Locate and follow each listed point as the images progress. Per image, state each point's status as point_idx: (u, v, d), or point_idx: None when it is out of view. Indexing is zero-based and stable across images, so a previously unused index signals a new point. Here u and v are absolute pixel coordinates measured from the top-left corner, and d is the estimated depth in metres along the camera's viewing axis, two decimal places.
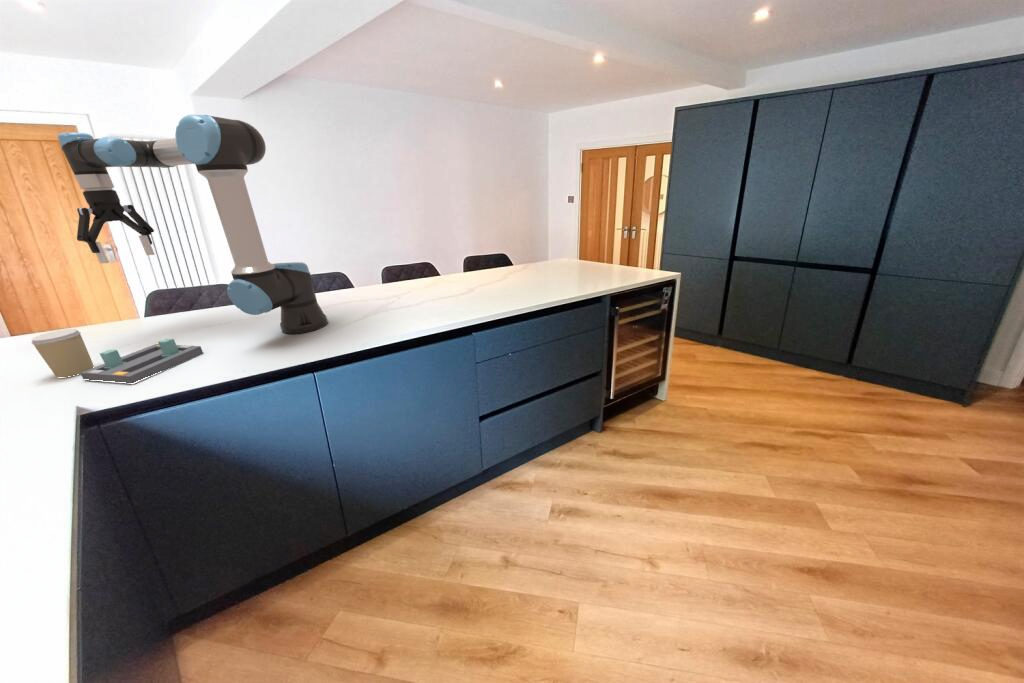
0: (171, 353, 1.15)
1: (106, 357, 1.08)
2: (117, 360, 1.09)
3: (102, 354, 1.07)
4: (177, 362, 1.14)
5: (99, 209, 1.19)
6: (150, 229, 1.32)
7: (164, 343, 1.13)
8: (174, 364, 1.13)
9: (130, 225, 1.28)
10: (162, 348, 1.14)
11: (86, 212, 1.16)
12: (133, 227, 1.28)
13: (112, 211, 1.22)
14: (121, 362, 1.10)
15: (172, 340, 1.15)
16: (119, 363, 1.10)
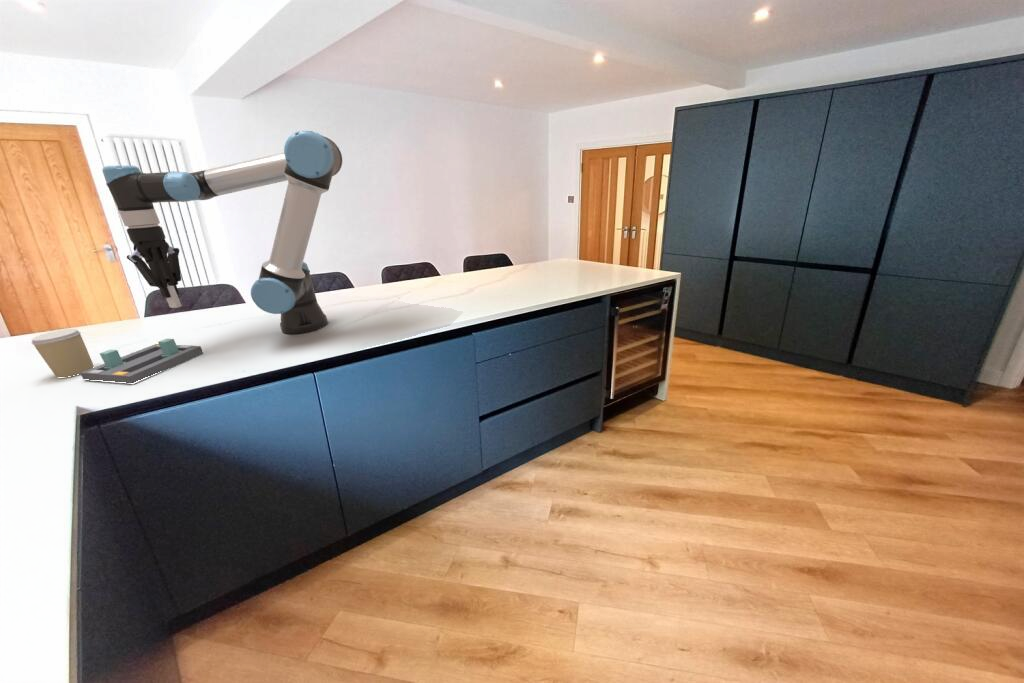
0: (171, 353, 1.15)
1: (106, 357, 1.08)
2: (117, 360, 1.09)
3: (102, 354, 1.07)
4: (177, 362, 1.14)
5: (143, 247, 1.07)
6: (178, 277, 1.16)
7: (164, 343, 1.13)
8: (174, 364, 1.13)
9: (162, 268, 1.13)
10: (162, 348, 1.14)
11: (138, 259, 1.06)
12: (164, 272, 1.14)
13: (157, 247, 1.10)
14: (121, 362, 1.10)
15: (172, 340, 1.15)
16: (119, 363, 1.10)
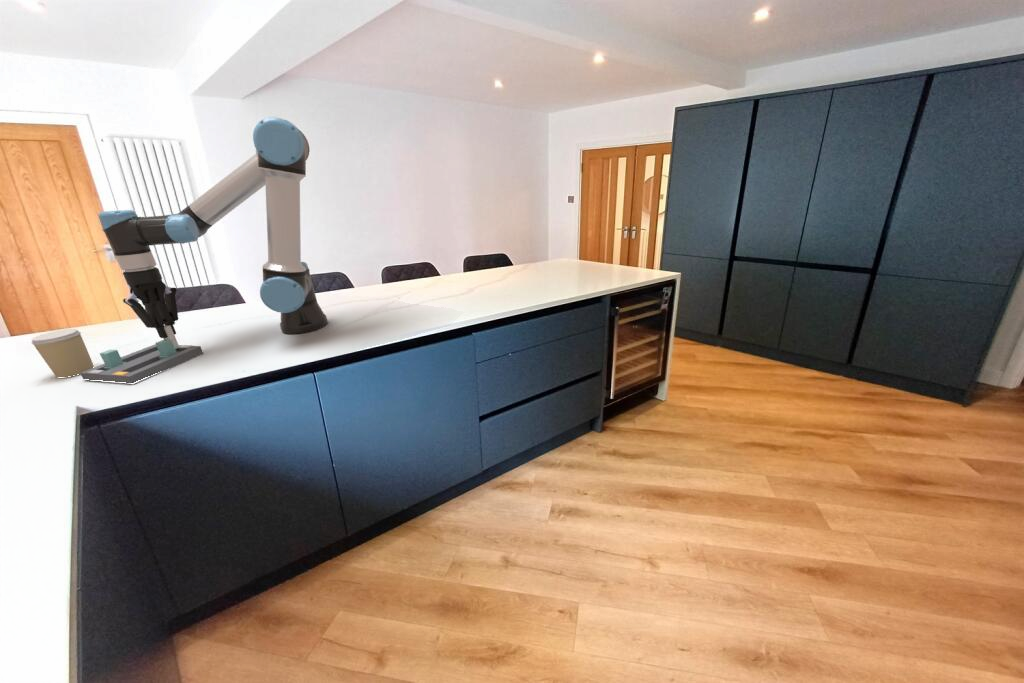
0: (168, 354, 1.14)
1: (106, 357, 1.08)
2: (117, 360, 1.09)
3: (102, 354, 1.07)
4: (177, 362, 1.14)
5: (139, 290, 1.07)
6: (175, 317, 1.16)
7: (161, 344, 1.13)
8: (174, 364, 1.13)
9: (159, 309, 1.13)
10: (160, 349, 1.14)
11: (134, 302, 1.06)
12: (161, 312, 1.13)
13: (154, 288, 1.10)
14: (121, 362, 1.10)
15: (169, 341, 1.14)
16: (119, 363, 1.10)
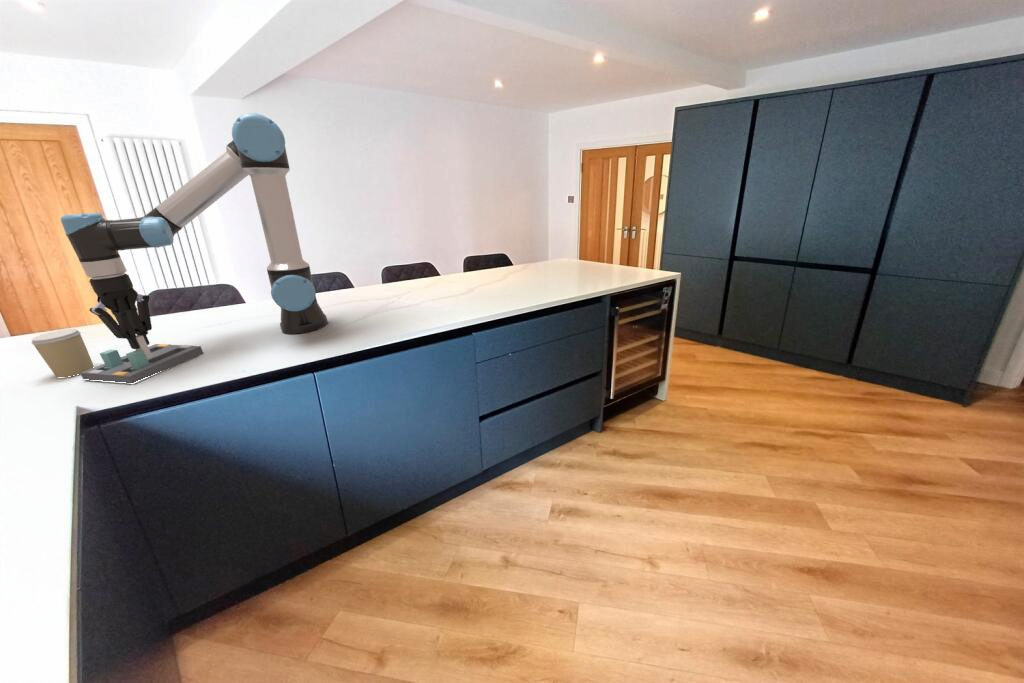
0: (140, 366, 1.07)
1: (106, 357, 1.08)
2: (117, 360, 1.09)
3: (102, 354, 1.07)
4: (177, 362, 1.14)
5: (108, 299, 1.00)
6: (148, 326, 1.09)
7: (132, 355, 1.06)
8: (174, 364, 1.13)
9: (131, 318, 1.06)
10: (131, 361, 1.07)
11: (102, 312, 0.99)
12: (132, 321, 1.06)
13: (124, 296, 1.03)
14: (121, 362, 1.10)
15: (142, 352, 1.08)
16: (119, 363, 1.10)
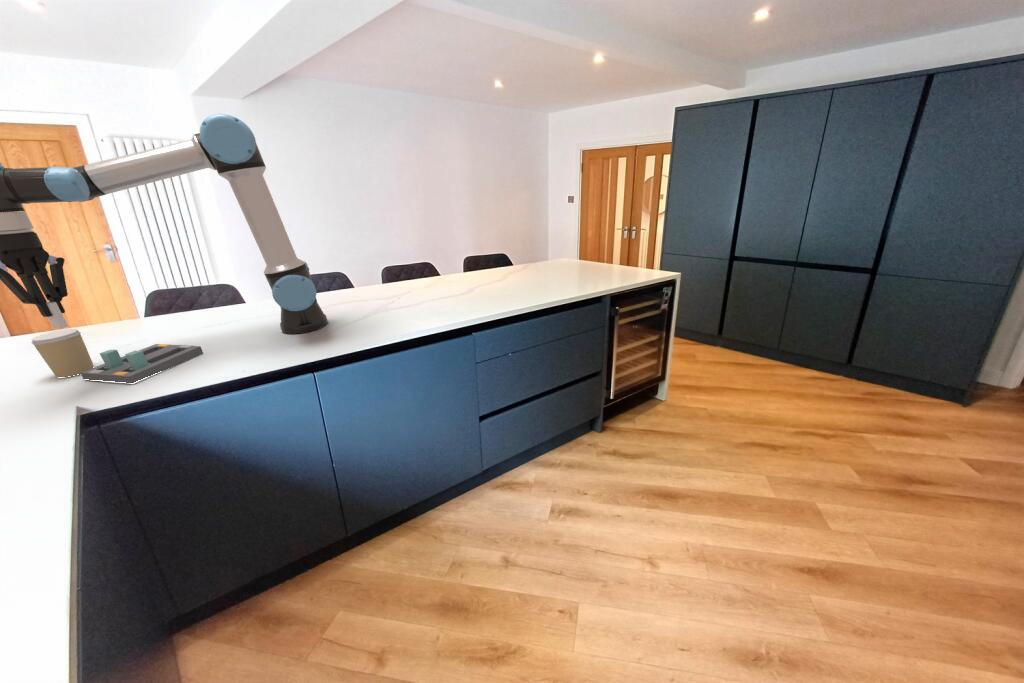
0: (139, 366, 1.07)
1: (106, 357, 1.08)
2: (117, 360, 1.09)
3: (102, 354, 1.07)
4: (177, 362, 1.14)
5: (9, 257, 0.89)
6: (63, 292, 0.98)
7: (131, 356, 1.05)
8: (174, 364, 1.13)
9: (41, 282, 0.95)
10: (130, 361, 1.07)
11: (1, 272, 0.88)
12: (43, 286, 0.95)
13: (31, 257, 0.92)
14: (121, 362, 1.10)
15: (141, 352, 1.07)
16: (119, 363, 1.10)
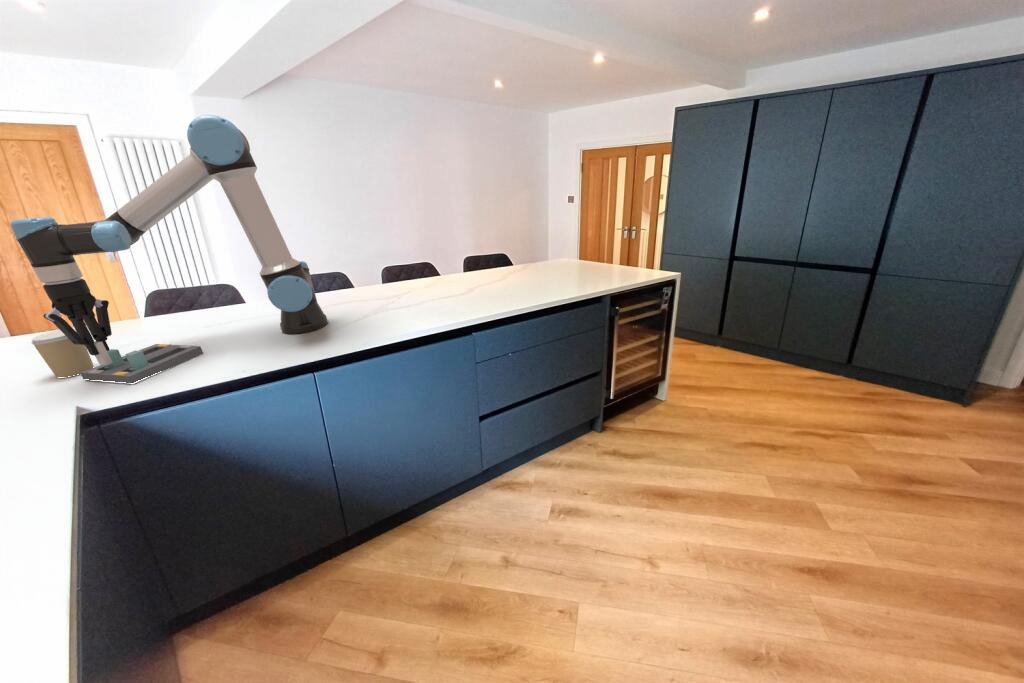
0: (139, 366, 1.07)
1: None
2: (118, 360, 1.10)
3: None
4: (177, 362, 1.14)
5: (62, 304, 0.98)
6: (107, 332, 1.07)
7: (131, 356, 1.05)
8: (174, 364, 1.13)
9: (89, 324, 1.04)
10: (130, 361, 1.07)
11: (56, 318, 0.97)
12: (91, 327, 1.04)
13: (80, 302, 1.01)
14: (122, 362, 1.11)
15: (141, 352, 1.07)
16: (120, 363, 1.10)
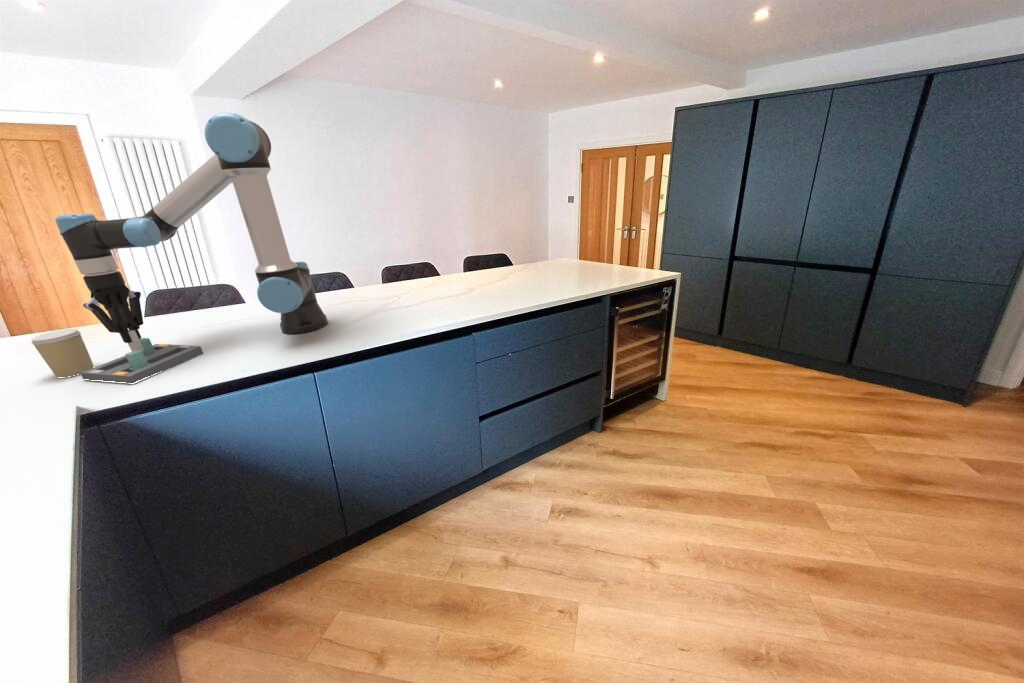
0: (139, 366, 1.07)
1: None
2: (149, 348, 1.17)
3: None
4: (177, 362, 1.14)
5: (100, 294, 1.05)
6: (139, 321, 1.15)
7: (131, 356, 1.05)
8: (174, 364, 1.13)
9: (123, 313, 1.11)
10: (130, 361, 1.07)
11: (95, 307, 1.04)
12: (125, 316, 1.12)
13: (116, 293, 1.09)
14: (153, 350, 1.18)
15: (141, 352, 1.07)
16: (151, 351, 1.18)
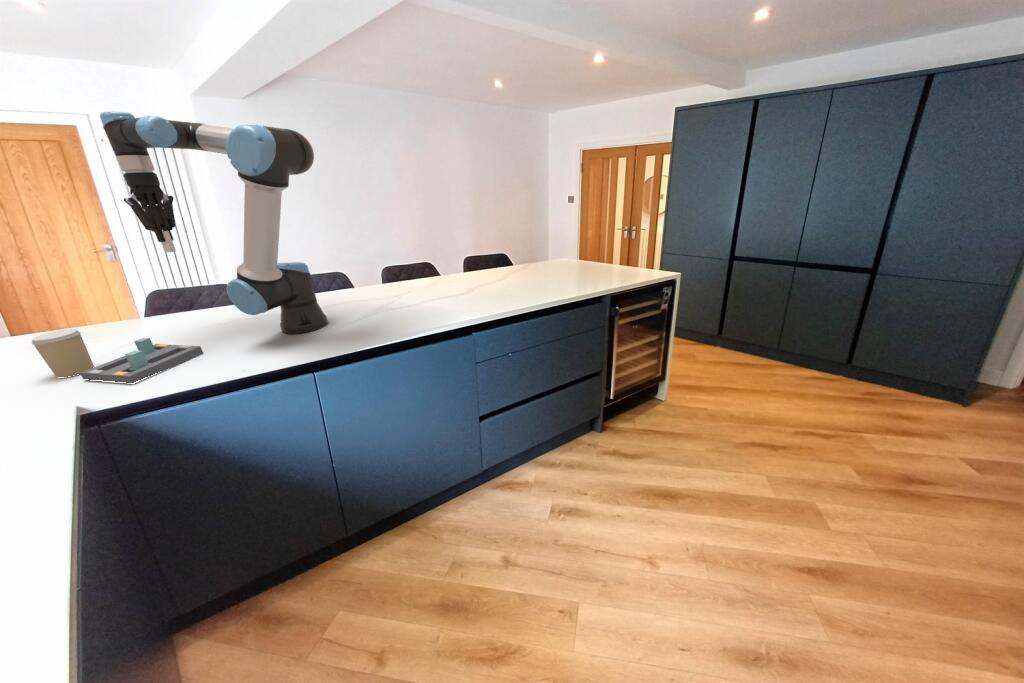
0: (139, 366, 1.07)
1: (140, 345, 1.16)
2: (150, 347, 1.17)
3: (136, 342, 1.15)
4: (177, 362, 1.14)
5: (139, 191, 1.15)
6: (172, 223, 1.24)
7: (131, 356, 1.05)
8: (174, 364, 1.13)
9: (158, 214, 1.21)
10: (130, 361, 1.07)
11: (134, 202, 1.13)
12: (159, 217, 1.21)
13: (152, 193, 1.18)
14: (153, 349, 1.18)
15: (141, 352, 1.07)
16: (151, 350, 1.18)
